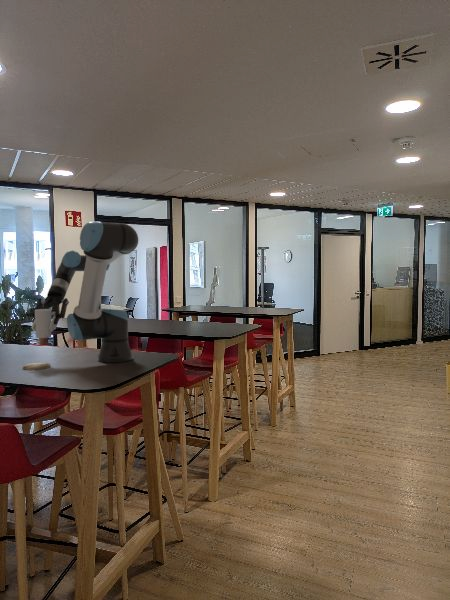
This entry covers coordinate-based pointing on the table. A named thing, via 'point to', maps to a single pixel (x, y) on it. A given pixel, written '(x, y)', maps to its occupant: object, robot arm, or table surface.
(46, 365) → the stand
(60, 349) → the table surface
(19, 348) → the table surface
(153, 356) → the table surface
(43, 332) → the mug
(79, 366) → the table surface
